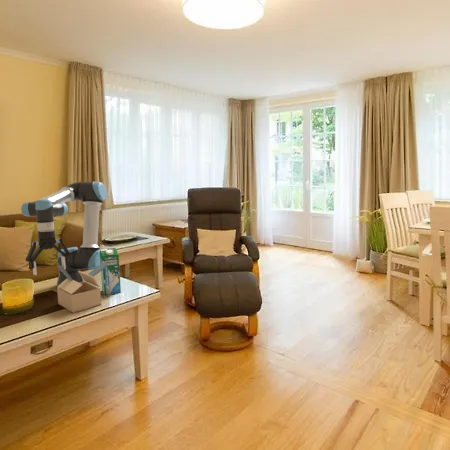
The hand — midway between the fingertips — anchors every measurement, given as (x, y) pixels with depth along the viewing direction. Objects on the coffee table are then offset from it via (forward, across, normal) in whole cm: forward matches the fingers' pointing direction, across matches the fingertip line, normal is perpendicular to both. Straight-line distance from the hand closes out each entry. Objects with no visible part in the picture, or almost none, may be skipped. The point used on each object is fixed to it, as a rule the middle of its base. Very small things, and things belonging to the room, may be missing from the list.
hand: (49, 272), depth 183 cm
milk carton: (+19, +34, +3) cm, 39 cm away
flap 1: (+8, +8, -4) cm, 12 cm away
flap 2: (+7, +18, -4) cm, 19 cm away
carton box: (+19, +12, -4) cm, 23 cm away
